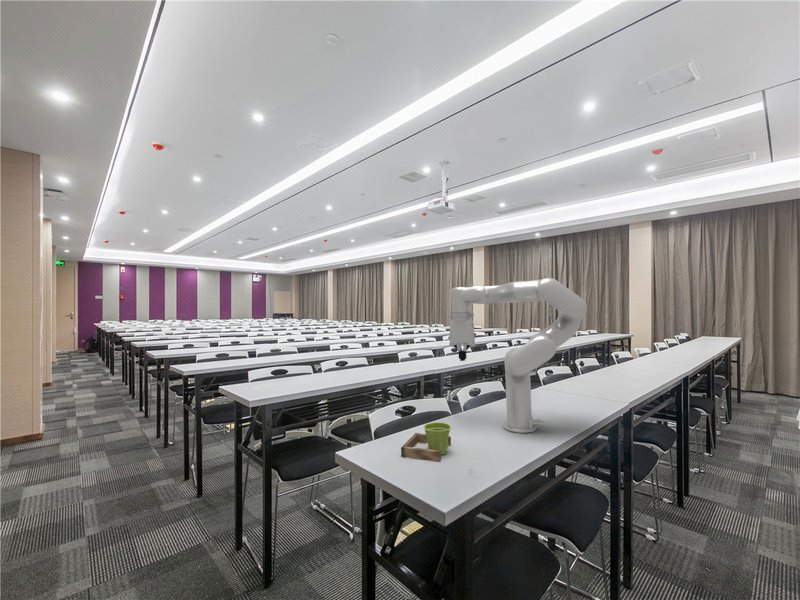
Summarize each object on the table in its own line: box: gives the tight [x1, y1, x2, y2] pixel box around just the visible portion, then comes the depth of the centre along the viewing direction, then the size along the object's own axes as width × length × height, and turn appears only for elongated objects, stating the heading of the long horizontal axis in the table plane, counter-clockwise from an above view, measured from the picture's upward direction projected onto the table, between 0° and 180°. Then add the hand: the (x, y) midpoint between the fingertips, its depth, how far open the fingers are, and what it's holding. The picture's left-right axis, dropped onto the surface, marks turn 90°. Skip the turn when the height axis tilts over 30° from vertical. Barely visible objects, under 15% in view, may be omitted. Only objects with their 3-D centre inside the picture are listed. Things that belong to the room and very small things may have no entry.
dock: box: [400, 432, 452, 463], centre depth 124 cm, size 13×15×3 cm
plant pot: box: [423, 421, 452, 455], centre depth 122 cm, size 9×9×9 cm
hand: (462, 360), depth 151 cm, fingers closed
